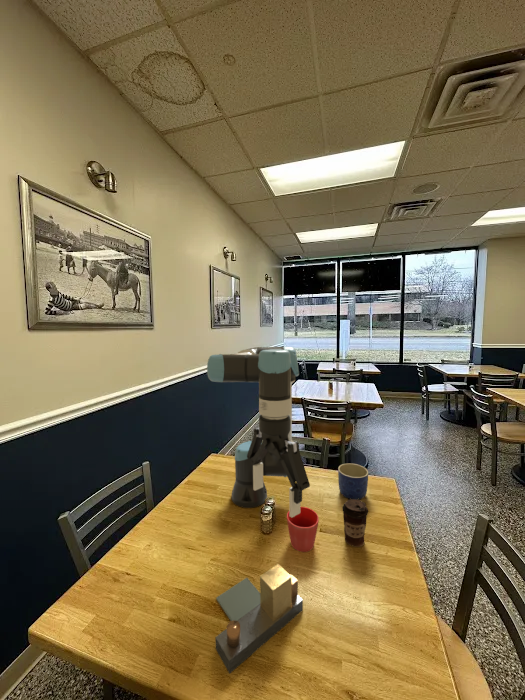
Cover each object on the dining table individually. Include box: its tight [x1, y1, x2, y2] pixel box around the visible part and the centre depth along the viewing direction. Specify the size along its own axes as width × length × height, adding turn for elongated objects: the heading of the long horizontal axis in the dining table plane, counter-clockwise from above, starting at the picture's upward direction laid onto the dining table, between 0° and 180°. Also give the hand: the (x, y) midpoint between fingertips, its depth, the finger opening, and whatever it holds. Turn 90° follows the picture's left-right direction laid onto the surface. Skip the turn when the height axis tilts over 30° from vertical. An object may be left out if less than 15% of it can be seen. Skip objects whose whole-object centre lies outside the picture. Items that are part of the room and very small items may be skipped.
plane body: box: [214, 574, 304, 675], centre depth 70 cm, size 22×6×7 cm, turn 128°
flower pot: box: [286, 506, 320, 553], centre depth 97 cm, size 11×11×10 cm
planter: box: [337, 463, 369, 500], centre depth 125 cm, size 12×12×11 cm
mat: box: [215, 577, 260, 622], centre depth 77 cm, size 10×10×1 cm
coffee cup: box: [342, 499, 369, 548], centre depth 98 cm, size 9×8×13 cm
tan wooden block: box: [259, 563, 291, 621], centre depth 72 cm, size 6×5×8 cm
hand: (275, 500), depth 70 cm, fingers open, 13 cm apart
